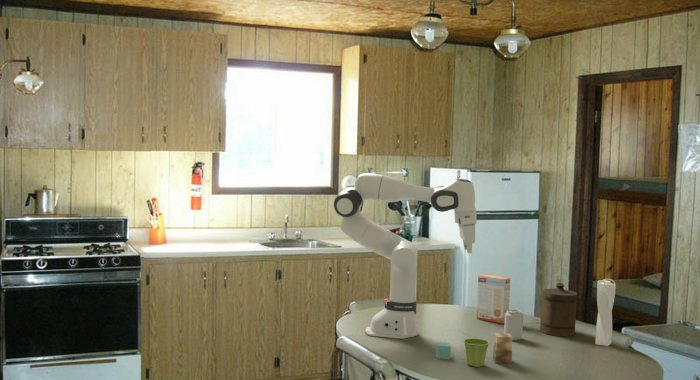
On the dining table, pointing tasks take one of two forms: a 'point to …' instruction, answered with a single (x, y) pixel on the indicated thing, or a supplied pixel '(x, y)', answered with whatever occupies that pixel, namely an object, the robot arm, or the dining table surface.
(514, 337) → the can
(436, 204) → the robot arm
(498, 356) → the walnut base block
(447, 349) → the teal block
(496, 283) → the cracker box
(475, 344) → the plant pot
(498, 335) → the oak middle block
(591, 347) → the dining table surface
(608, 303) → the skyscraper
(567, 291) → the wooden container
